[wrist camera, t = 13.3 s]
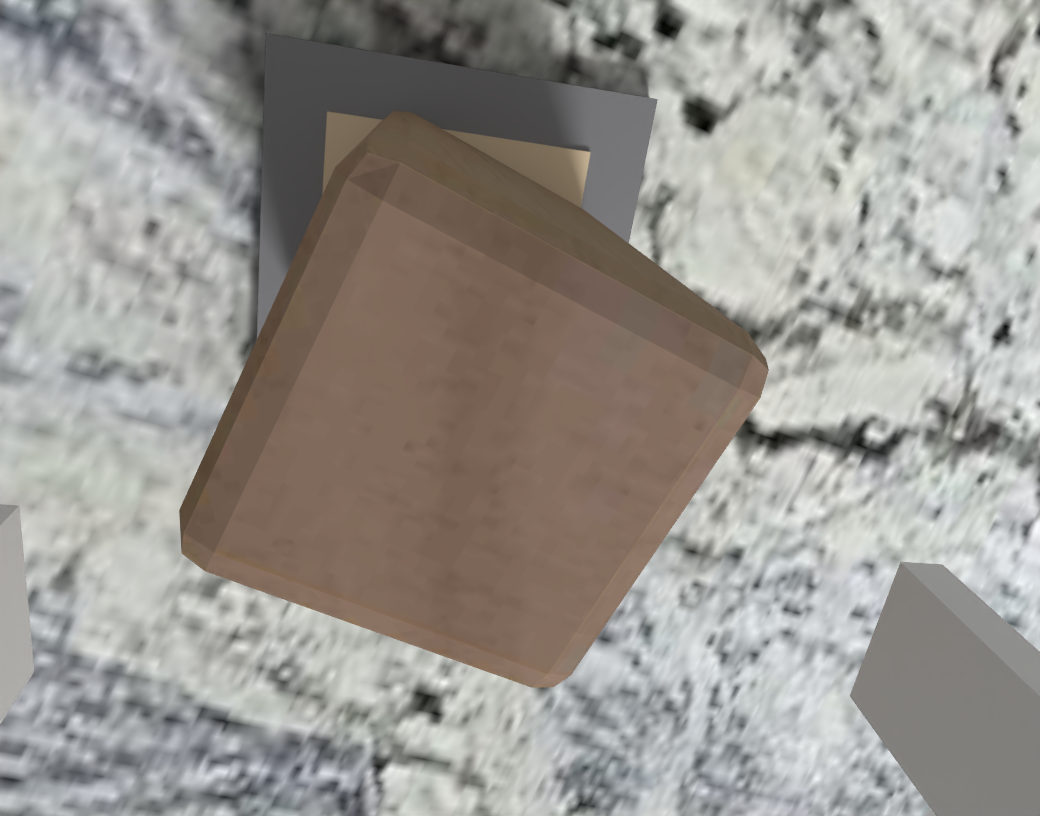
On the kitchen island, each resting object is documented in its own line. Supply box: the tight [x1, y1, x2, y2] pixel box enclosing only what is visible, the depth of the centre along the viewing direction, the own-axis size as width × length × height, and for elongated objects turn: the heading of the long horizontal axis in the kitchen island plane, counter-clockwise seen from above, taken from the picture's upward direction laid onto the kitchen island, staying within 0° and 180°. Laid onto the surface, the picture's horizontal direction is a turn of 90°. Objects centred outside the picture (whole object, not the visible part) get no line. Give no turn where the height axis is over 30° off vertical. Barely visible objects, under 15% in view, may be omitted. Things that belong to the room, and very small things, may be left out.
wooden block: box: [179, 111, 768, 687], centre depth 25 cm, size 10×10×20 cm
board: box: [257, 33, 657, 338], centre depth 35 cm, size 16×16×1 cm
